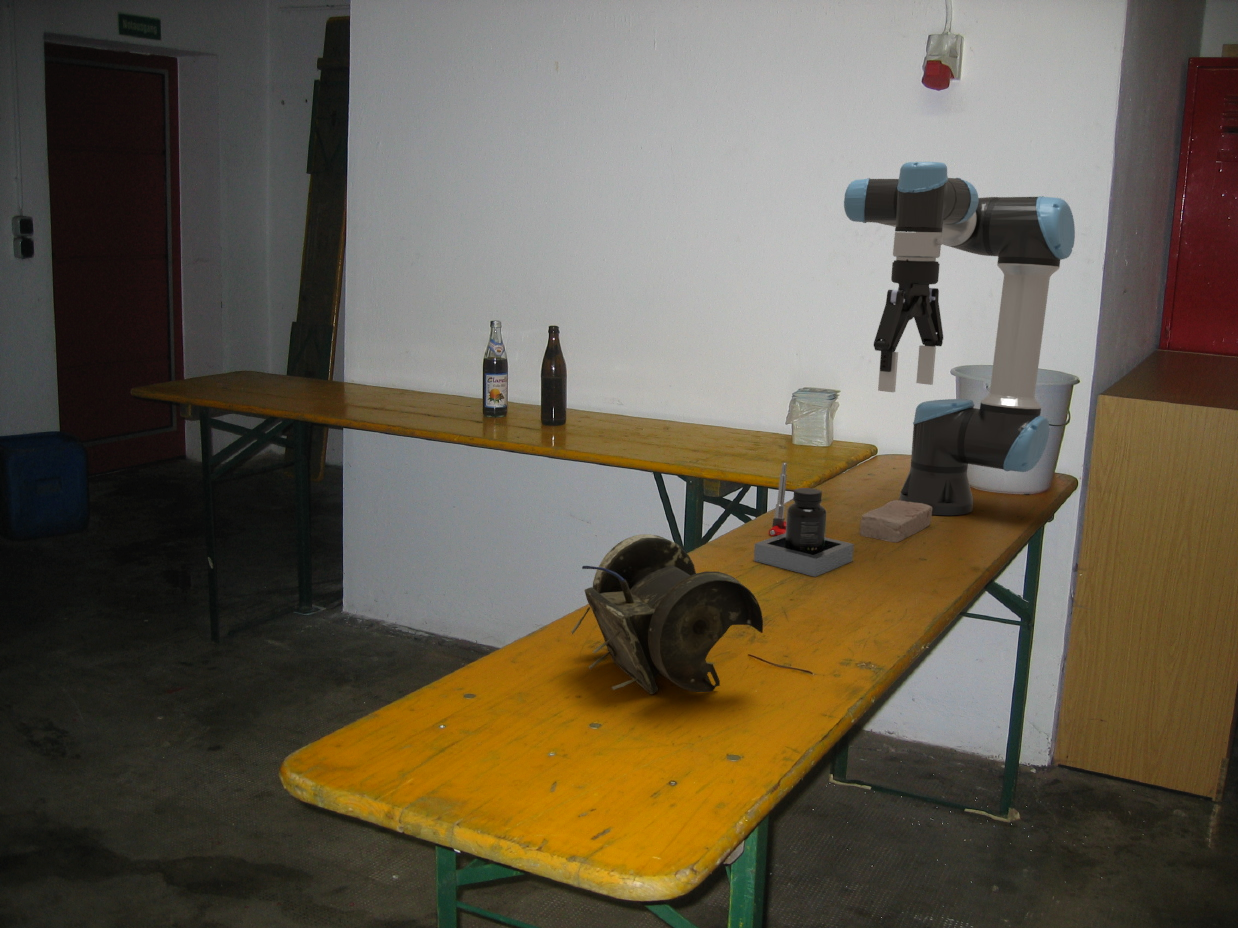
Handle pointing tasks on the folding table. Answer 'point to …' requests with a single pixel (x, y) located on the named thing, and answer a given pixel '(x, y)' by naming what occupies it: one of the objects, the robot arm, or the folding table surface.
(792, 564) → the keeper tray
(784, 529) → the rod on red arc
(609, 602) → the bench grinder
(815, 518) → the supplement bottle
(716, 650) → the folding table surface
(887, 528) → the brick
